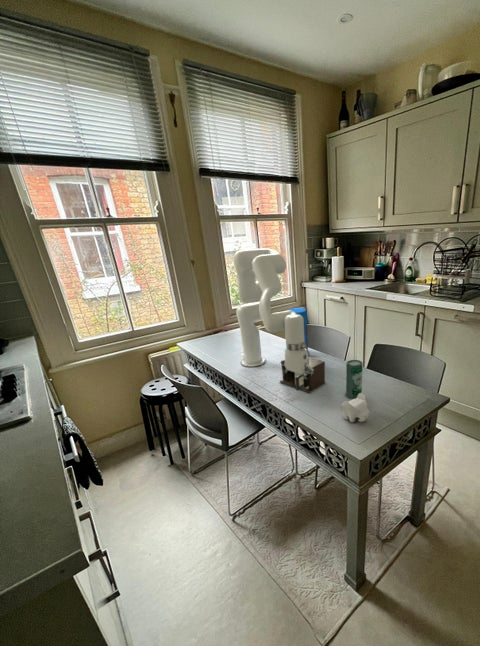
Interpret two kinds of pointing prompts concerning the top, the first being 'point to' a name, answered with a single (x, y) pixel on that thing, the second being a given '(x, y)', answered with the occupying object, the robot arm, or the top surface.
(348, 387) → the can
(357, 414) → the elephant figurine
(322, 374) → the cabinet
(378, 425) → the top surface
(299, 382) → the door
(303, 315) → the blue tall cylinder
